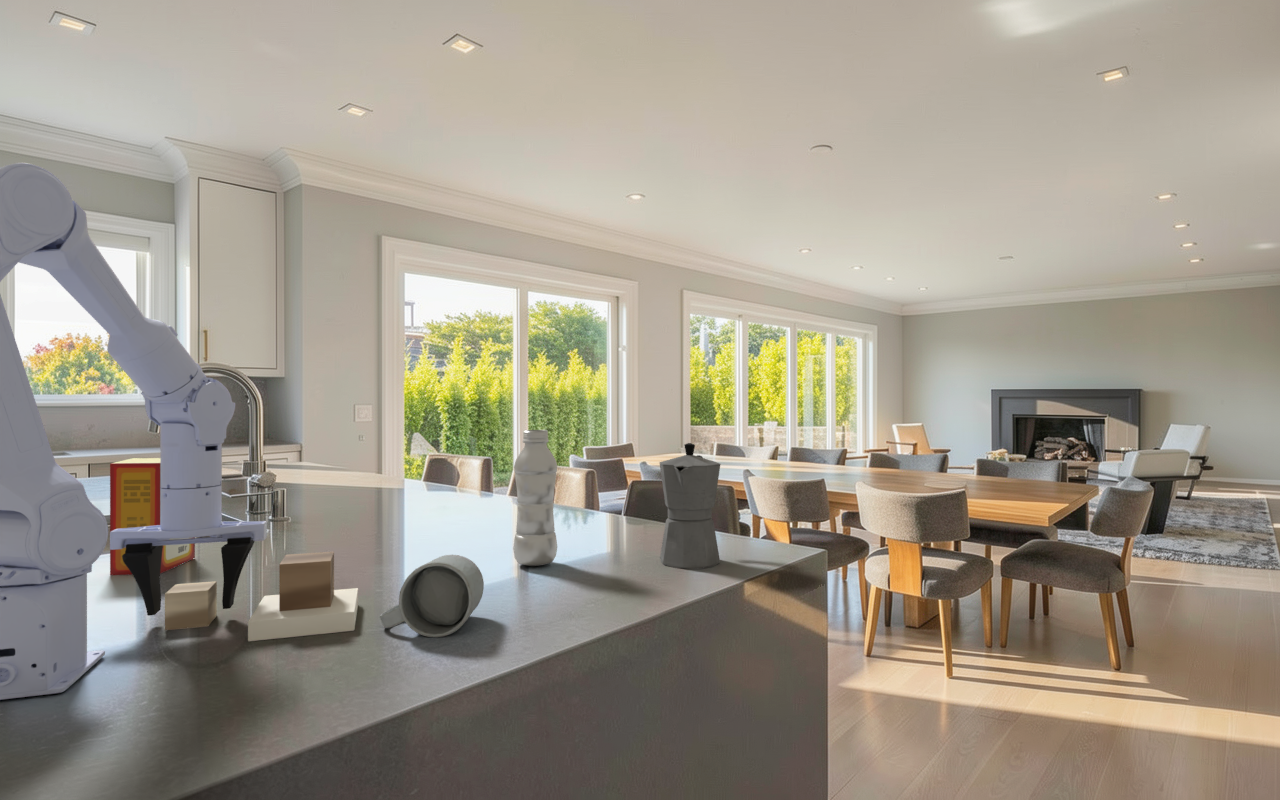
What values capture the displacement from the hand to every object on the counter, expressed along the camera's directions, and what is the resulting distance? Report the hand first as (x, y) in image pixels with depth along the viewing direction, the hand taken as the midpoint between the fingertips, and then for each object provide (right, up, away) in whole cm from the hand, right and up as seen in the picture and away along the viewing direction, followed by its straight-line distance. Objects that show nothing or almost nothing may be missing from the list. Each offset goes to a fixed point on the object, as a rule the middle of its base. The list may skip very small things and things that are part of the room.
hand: (191, 609), depth 78 cm
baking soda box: (-22, -2, +26) cm, 34 cm away
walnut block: (+13, +1, +1) cm, 13 cm away
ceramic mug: (+27, -2, -1) cm, 27 cm away
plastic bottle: (+34, -2, +27) cm, 43 cm away
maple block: (0, -2, 0) cm, 2 cm away
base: (+13, -1, 0) cm, 13 cm away
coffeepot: (+57, -2, +30) cm, 65 cm away
